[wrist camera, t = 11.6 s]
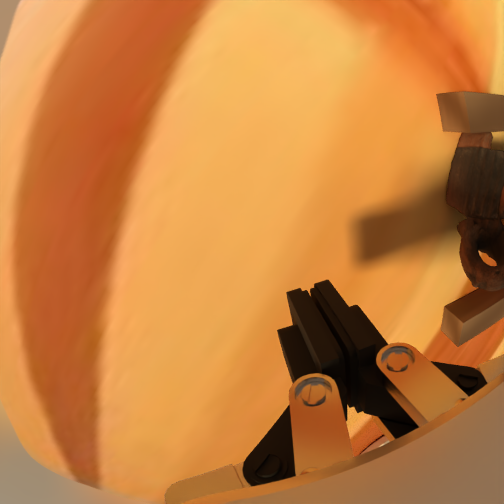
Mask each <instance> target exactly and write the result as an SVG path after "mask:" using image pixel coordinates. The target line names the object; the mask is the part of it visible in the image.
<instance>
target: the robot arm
mask: <svg viewBox="0 0 504 504" xmlns="http://www.w3.org/2000/svg"><path fill="white" fill-rule="evenodd" d="M310 293H311V296H310V295H309V293H308V291H307V290H305V291H302V290H301V288H299V289H295V290H292V291H289V292H287V299H288V303H289V308H290V313H291V317H292V322H293V325H292V326H289V327H285V328H282V329H279V330H277V331H278V336H279V340H280V344H281V347H282V351H283V354H284V358H285V361H286V364H287V367H288V370H289V373H290V376H291V379H292V382H293V384H292V386H291V388H290V390H289V406H288V407H287V408H286V410H285V411H284V412H283V414H282V415H281V416H280V418H279V419H278V420H277V421H276V423H275V424H274V425H273V426H272V428H271V429H270V430H269V431H268V433H267V434H266V435H265V436H264V438H263V439H262V440H261V441H260V442H259V444H258V445H257V446H256V447H255V448H254V450H253V451H252V452H251V453H250V454H249V455H248V457H247V458H246V460H245V461H244V462H242V463H239V464H237V465H234V466H233V465H232V464H230V465H227V466H225V467H222V468H219V469H216V470H213V471H210V472H207V473H204V474H201V475H198V476H195V477H192V478H188V479H185V480H181V481H178V482H176V483H174V484H172V485H171V486H170V487H169V488H168V489H167V491H166V493H165V503H166V504H504V354H503V355H501V356H499V357H496V358H494V359H492V360H489V361H487V362H484V363H482V364H479V365H478V366H477V368H476V369H475V368H472V367H467V366H460V365H452V364H446V363H439V362H433V361H429V360H428V359H427V358H426V357H425V356H423V355H422V354H421V353H420V352H419V351H418V350H417V349H416V348H414V347H413V346H411V345H409V344H406V343H392V344H389V345H388V343H387V342H386V341H385V339H384V338H383V337H382V336H381V334H380V333H379V332H378V330H377V329H376V328H375V326H374V325H373V324H372V323H371V321H370V320H369V319H368V317H367V316H366V315H365V314H364V312H363V311H362V310H361V308H360V307H359V306H358V305H353V306H351V307H349V306H348V305H347V304H346V302H345V301H344V300H343V298H342V297H341V296H340V294H339V293H338V292H337V290H336V289H335V288H334V286H333V285H332V284H331V282H330V281H329V280H325V281H322V282H318V283H315V284H314V288H311V289H310ZM347 404H348V406H349V407H350V408H351V407H353V406H354V407H355V409H356V411H357V413H359V412H362V411H363V412H364V413H366V414H369V415H372V418H373V420H374V422H375V423H376V425H377V426H378V427H379V428H380V430H381V431H382V432H383V434H384V435H385V436H383V437H382V438H380V439H379V440H377V441H376V442H374V443H373V444H372V445H370V446H369V447H368V448H367V449H366V450H364V451H363V452H362V453H361V454H360V455H359V456H356V457H354V455H353V451H352V446H351V442H350V437H349V433H348V429H347V424H346V421H347Z"/></svg>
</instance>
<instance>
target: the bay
mask: <svg viewBox="0 0 504 504" xmlns="http://www.w3.org/2000/svg"><path fill="white" fill-rule="evenodd" d="M436 95H437V99H438V104H439V109H440V115H441V121H442V127H443V131H448V132H463V133H480V132H498V131H504V96H503V95H495V94H486V93H476V92H452V93H442V94H436ZM503 317H504V288H502V289H500V290H497V291H487V290H485V289H481V288H479V289H477V290H476V291H474V292H472V293H470V294H468V295H466V296H464V297H463V298H461V299H459V300H457V301H455V302H453V303H451V304H449V305H447V306H445V307H444V313H443V320H442V326H441V331H442V332H443V333H444V334H445V335H446V336H447V337H448V338H449V339H450V340H451V341H452V342H453V343H454V344H455V345H456V346H457V347H458V346H460V345H462V344H463V343H465V342H467V341H468V340H470V339H472V338H473V337H475V336H476V335H478V334H480V333H481V332H483V331H484V330H486V329H487V328H489V327H490V326H492V325H493V324H495V323H496V322H497V321H499V320H500V319H502V318H503Z"/></svg>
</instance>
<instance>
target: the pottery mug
mask: <svg viewBox="0 0 504 504" xmlns="http://www.w3.org/2000/svg"><path fill="white" fill-rule="evenodd" d="M492 139H493V136H492V133H491V132H480V133H462V135H461V137H460V139H459V143H458V147H457V149H456V152H455V157H454V159H453V161H452V165H451V170H450V174H449V179H448V188H447V197H446V202H447V204H448V205H450V206H452V207H454V208H456V209H457V210H458V211H459V212H460V213H462V214H463V215H464V216H466V217H467V218H466V219H465V220H463V221H461V222H459V224H458V226H457V229H458V232H459V234H460V235H461V237H462V238H461V244H460V252H459V253H460V258H461V263H462V266H463V269H464V271H465V273H466V275H467V277H468V278H469V279H470V281H471V282H472V285H473V286H474V287H476V288H477V287H479V288H481V289H485V290H487V291H497V290H500V289H502V288H504V225H502V222H501V219H504V151H500V150H491V142H492ZM478 250H479V251H481V252H483V253H487V255H488V256H489V257H491V258H492V259H494V260H495V261H496V263H497V266H489V265H487V264H486V263H485V262H483V260H482V259H481V257H480V255H479V252H478Z"/></svg>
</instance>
